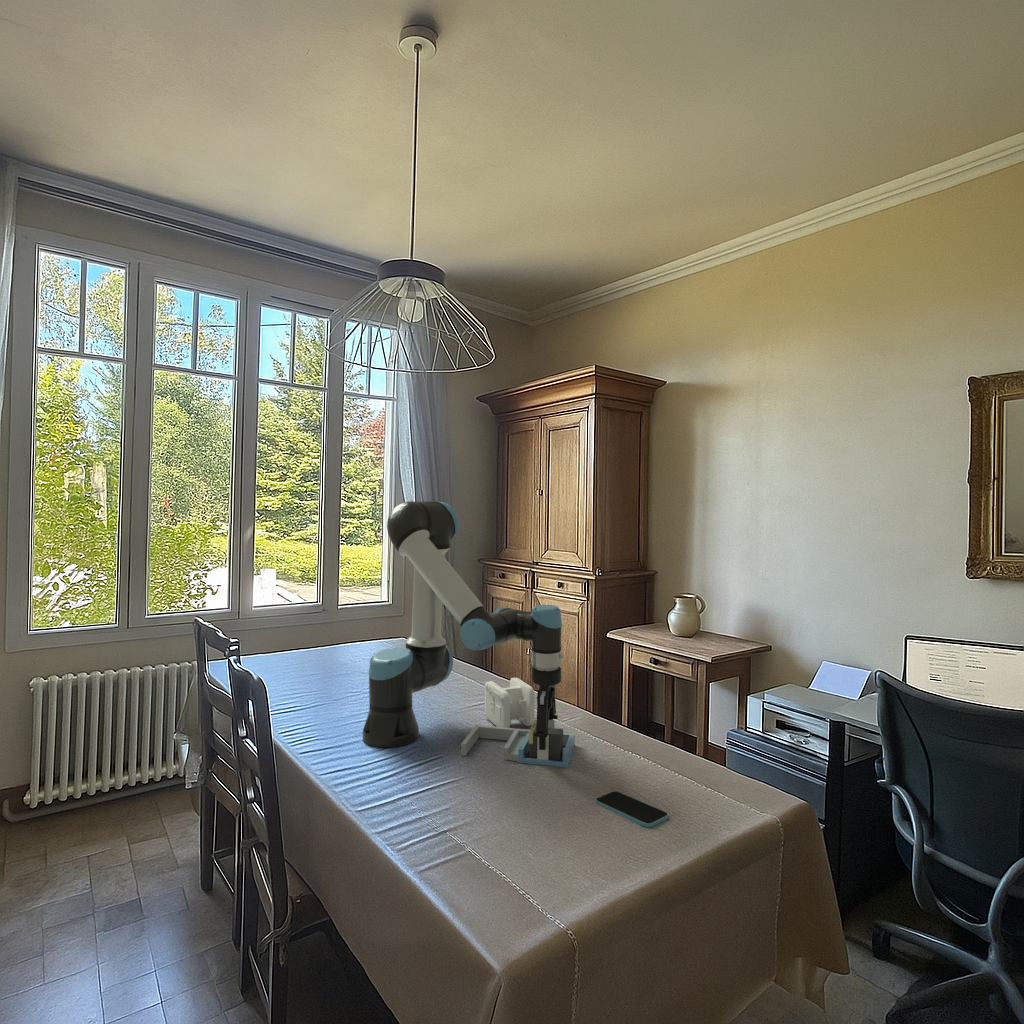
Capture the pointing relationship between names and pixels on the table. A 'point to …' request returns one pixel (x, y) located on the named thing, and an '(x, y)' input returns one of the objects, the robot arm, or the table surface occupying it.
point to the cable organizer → (509, 703)
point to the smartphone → (632, 809)
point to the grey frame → (516, 744)
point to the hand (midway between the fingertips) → (546, 752)
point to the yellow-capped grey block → (554, 744)
